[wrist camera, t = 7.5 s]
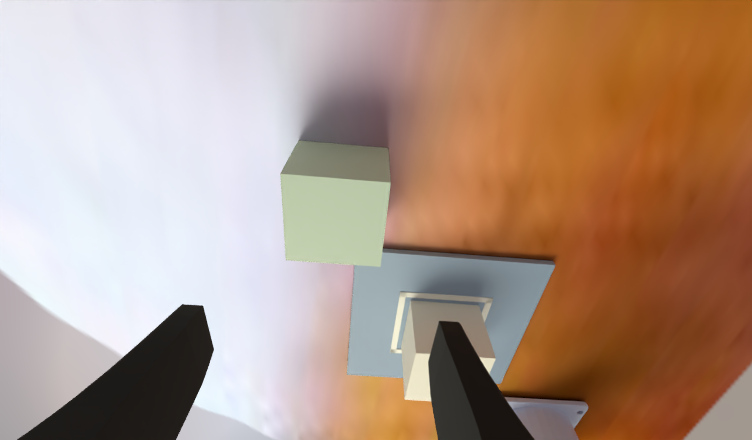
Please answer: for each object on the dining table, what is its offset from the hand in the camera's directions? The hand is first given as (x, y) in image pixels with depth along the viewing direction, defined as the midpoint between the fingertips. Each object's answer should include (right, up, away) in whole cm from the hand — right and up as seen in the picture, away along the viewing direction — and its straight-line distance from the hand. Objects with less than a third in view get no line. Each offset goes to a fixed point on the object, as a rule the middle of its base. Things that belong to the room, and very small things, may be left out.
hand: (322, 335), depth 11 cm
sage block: (0, +6, +8) cm, 10 cm away
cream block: (+6, -4, +13) cm, 15 cm away
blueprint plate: (+6, -3, +13) cm, 15 cm away
